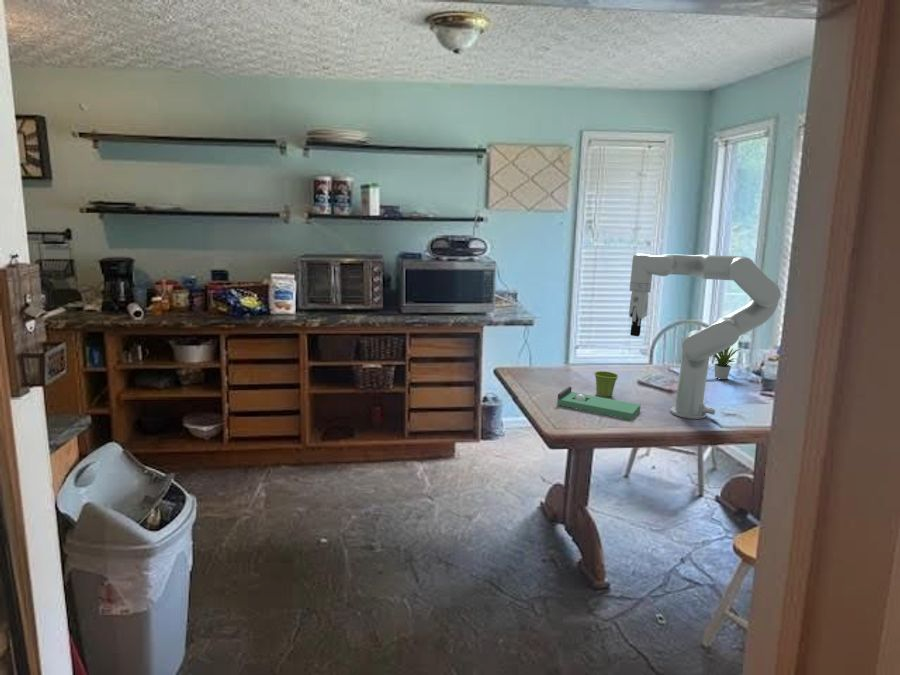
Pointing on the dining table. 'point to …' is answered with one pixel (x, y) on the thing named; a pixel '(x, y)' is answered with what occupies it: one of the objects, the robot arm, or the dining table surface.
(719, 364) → the house plant
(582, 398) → the ball
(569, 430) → the dining table surface
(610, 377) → the plant pot
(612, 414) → the green
